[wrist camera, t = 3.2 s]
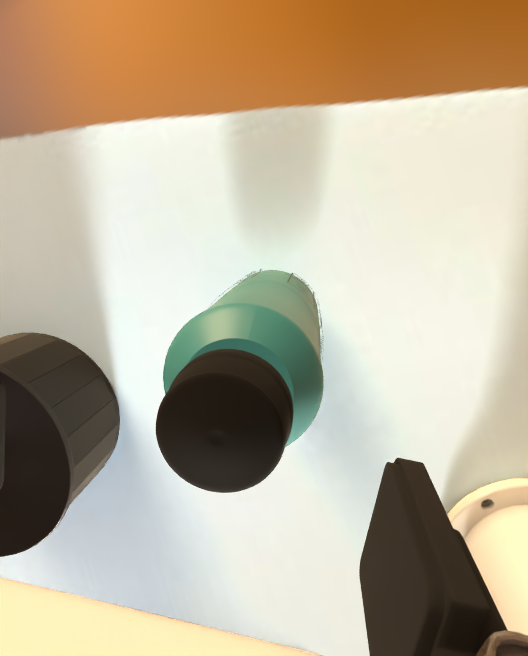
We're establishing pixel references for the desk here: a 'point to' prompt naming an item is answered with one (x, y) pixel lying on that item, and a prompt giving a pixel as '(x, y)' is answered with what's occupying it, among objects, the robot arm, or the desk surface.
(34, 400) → the lid
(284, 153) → the desk surface
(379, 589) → the robot arm
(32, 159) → the desk surface
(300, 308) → the beverage bottle
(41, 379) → the black short cylinder
